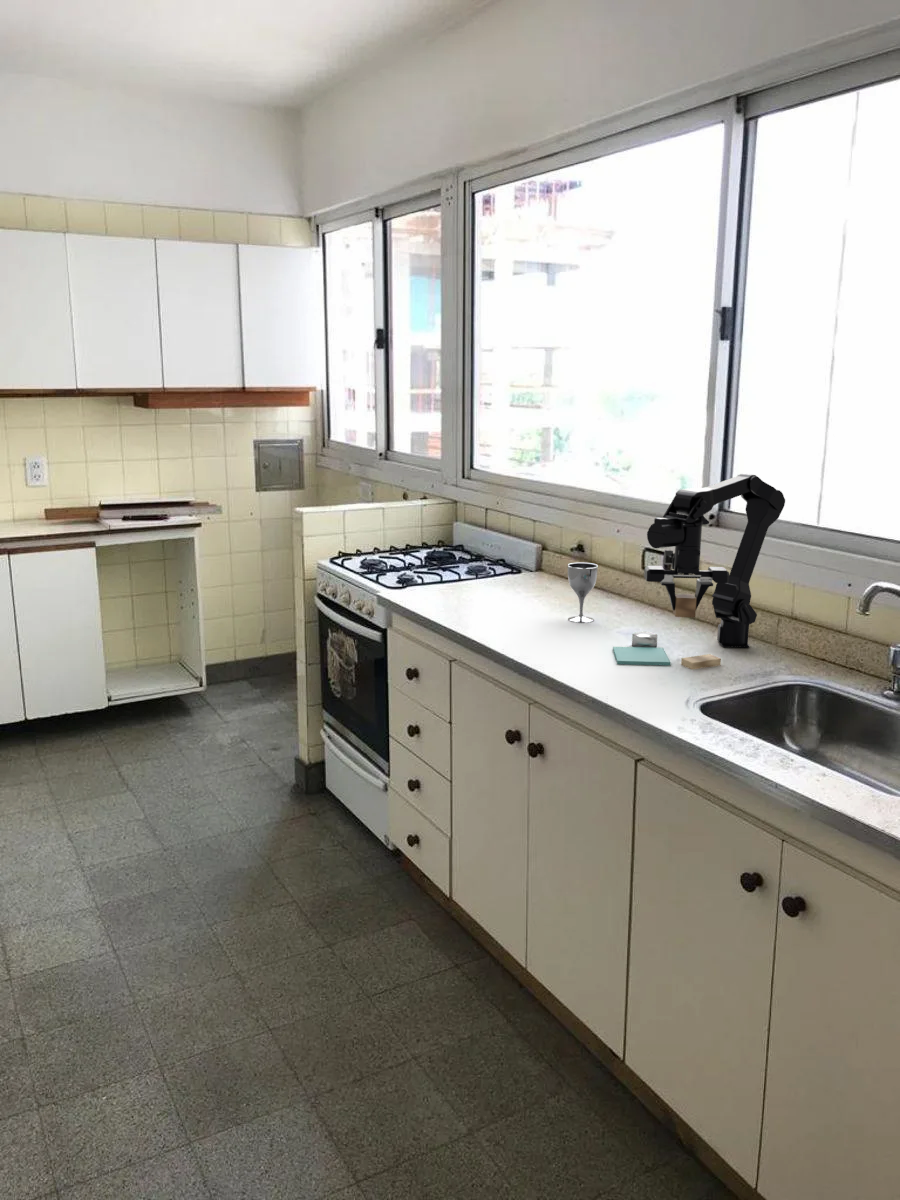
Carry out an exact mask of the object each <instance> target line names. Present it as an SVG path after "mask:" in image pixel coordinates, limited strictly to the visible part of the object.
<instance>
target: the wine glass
mask: <svg viewBox="0 0 900 1200" xmlns="http://www.w3.org/2000/svg"><path fill="white" fill-rule="evenodd" d="M598 569H599V567H598V564H596V563H591V562H570V563H568V564H567V578H568V579H567V580H568V584H569V587H570V589H571V590H572V591H574V593H575V595H576V596H577V598H578V600H579V601H578V602H579V615H576V616H571V617H568V618H567V621H569V622H571V623H577V624H589V623H592V622H594V621H595V619H594V618H593V617H590V616H585V615H584V614H583V613H584V612H583V609H584V603H585V600H586V597H587V595H588V594H589V593H590V592H591V591H592V590H593V588H595V585H596V583H597V578H598Z"/></svg>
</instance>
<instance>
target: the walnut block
mask: <svg viewBox="0 0 900 1200" xmlns="http://www.w3.org/2000/svg"><path fill="white" fill-rule="evenodd" d="M696 613H697V609H696V597H695V593H675V610H673V609H672V614H673V615H674V616H675V617H676V618H696Z"/></svg>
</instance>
